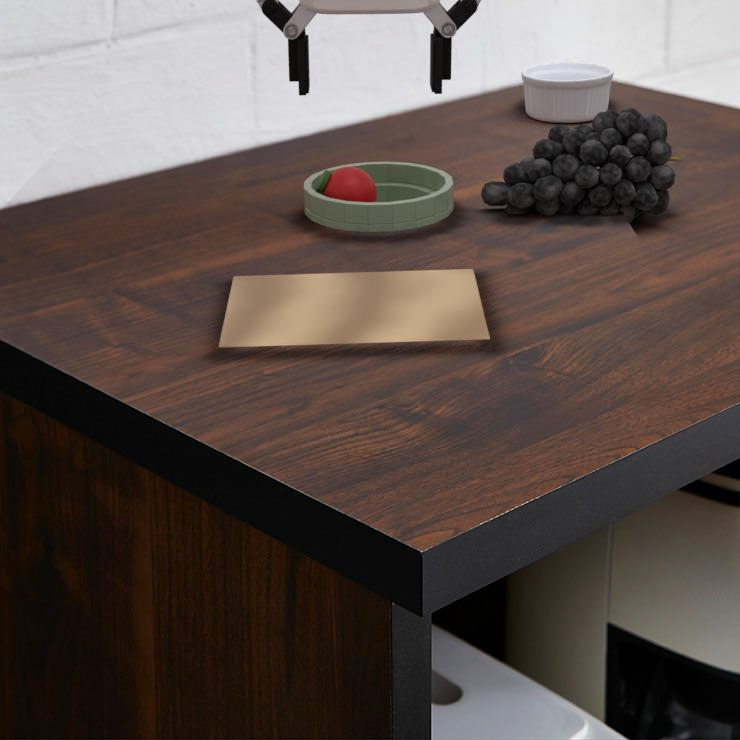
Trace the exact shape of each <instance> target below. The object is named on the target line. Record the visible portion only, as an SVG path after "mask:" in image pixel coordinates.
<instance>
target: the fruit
mask: <svg viewBox="0 0 740 740" xmlns="http://www.w3.org/2000/svg"><path fill="white" fill-rule="evenodd" d="M667 124H668V123H667V122H666V121H665V120H664V119H663V118H662V117H661V116H660V115H658V114H654V113H652V112H649V113H644V114H642V113H641V112H640V111H638V110H637V108H635V107H626V108H623V109H622V110H620V112H619V111H617V110H616V109H615V108H613V109H607V111H605V112H599V113H598V114H597V115H596V116H595V117H594V119H593V120H592V121H591V126H592V127H591V126H589V125H588V124H583V123H580V124H578V125H577V126H575V127H574V128H569V126H567V124H556V125H554V126H553V127H551V128H550V130H549V131H548V134H547V137H548V138H541V139H539V140H537V141H536V142H535V144H534V145H533V148H532V156H526V157H523V159H521V160H520V162H519V163H518V162H513V163H510V164H508V165H507V166H506V167H505V168H504V169H503V175H502V179H503V181H499V180H493V181H489V182H486V183H484V185H483V186H482V189H481V193H480V196H481V198H482V201H483V204H485V205H487V206H489V207H504V206H506V207H505V209H504V212H505V213H508V214H511V215H523V214H527V213H529V212H532V211H533V209H535V210H536V211H537V213H538V214H540V215H543V216H553V215H555V214H556V213H560V214H572V213H573V212H576V209H577V213H578V214H581V215H586V216H592V215H597V214H598V213H600V214H602V215H607V216H612V215H613V216H615V215H618V214H619V212H622V213H623V215H624V217H625V218H626V220H627V222H628V224H632V222H633V221H634V219H636V218H638V217H639V216H640V215H642V214H643V213H644V212H647V213H648V214H650V215H652V216H658V215H661V214H663V213H665V212H667V211H668V209H669V204H670V200H671V197H670V192H669V191H670V190H669V189H670V188H672V187H673V185H674V184H675V180H676V173H675V170H674V169H673V168H672V167H671V166H669V165H667V163H668V162H683V160H682V159H681V158H680V157H678V156H673V153H672V152H673V151H672V146H671V145H670V144H669V142H667V138H668V125H667Z"/></svg>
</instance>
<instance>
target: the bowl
mask: <svg viewBox="0 0 740 740" xmlns="http://www.w3.org/2000/svg"><path fill="white" fill-rule="evenodd" d="M342 167H356V168H359V169H362V170H363V171H365V172H366V173H367V174H368V175H369V176H370V177H371V178H372V180H373V181H374V183H375V186H376V190H377V199H376V202H370V203H368V202H353V201H344V200H339V199H333V198H329V197H326V196H324V195H321V193H318V192H316V191H315V190H316V187H317V184H318V182H319V180H320V178H321V176H322V174H323V172H324V171H325V170H328V171H330V172H331V173H332V172H333V171H335V170H336V169H339V168H342ZM454 184H455V183H454V180H453V176H452V175H450V174H448V173H447V172H446V171H444V170H442V169H439V168H436V167H433V166H430V165H425V164H417V163H414V162H402V161H401V162H400V161H365V162H356V163H349V164H347V163H346V164H342V165H337V166H333V167H329V168H325V169H322V170H320V171H318V172H315V173H313V174H311V175H310V176H309V177H308V178H306V179H305V180H304V182H303V203H304V204H303V206H304V215H305V216H306V217H307V218H308V219H309V220H310V221H311V222H313V223H316V224H317V225H318V224H319V225H321V226H323V227H326V228H331V229H337V230H341V231H350V232H361V233H383V232H388V233H389V232H397V231H407V230H412V229H418V228H423V227H425V226H429V225H433V224H434V225H435V224H436V223H438V222H441V221H443V220H444V219H447V218H448V217H449V216H450V215H451V214H452V212H453V211H454V205H455V204H454V201H455V200H454V199H455V195H454V193H455V192H454V188H455V187H454Z"/></svg>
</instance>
